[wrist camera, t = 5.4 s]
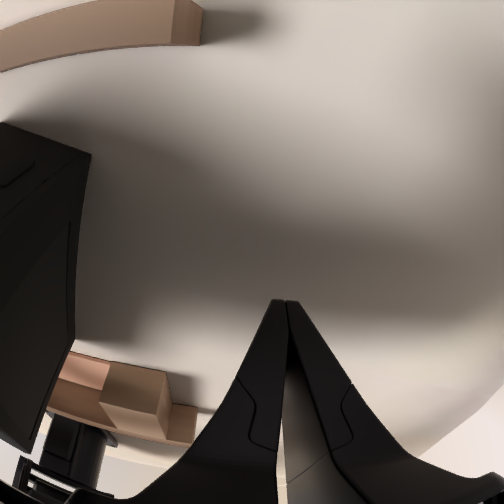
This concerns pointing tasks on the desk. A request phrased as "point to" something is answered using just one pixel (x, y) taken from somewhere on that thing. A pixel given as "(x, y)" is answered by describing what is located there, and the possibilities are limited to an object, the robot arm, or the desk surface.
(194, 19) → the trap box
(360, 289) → the desk surface
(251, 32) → the desk surface
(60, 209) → the digital camera
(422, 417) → the desk surface
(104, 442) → the robot arm
